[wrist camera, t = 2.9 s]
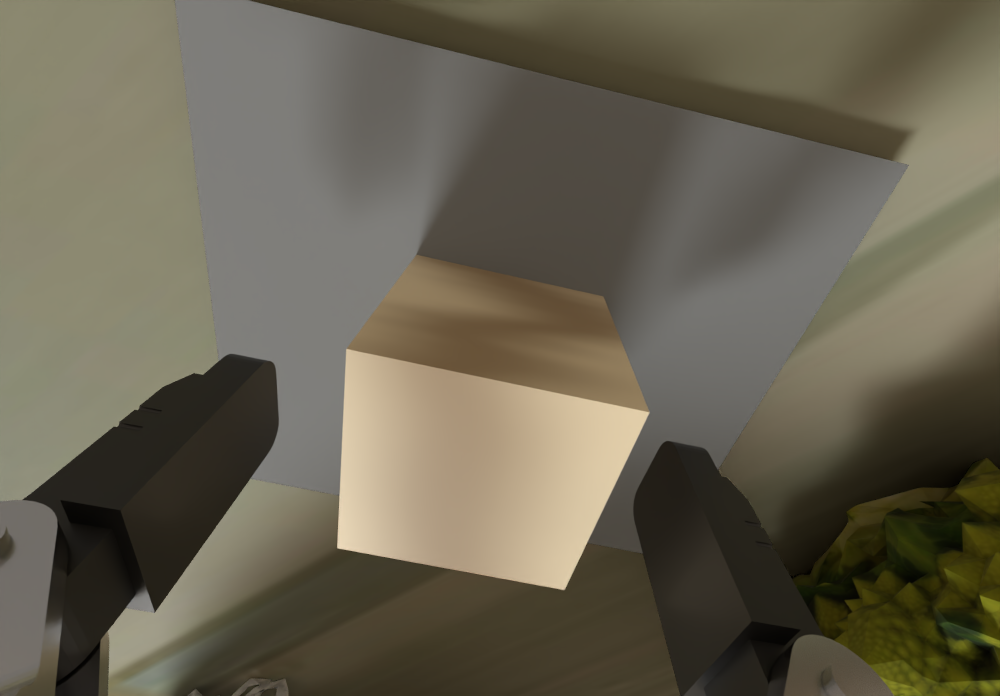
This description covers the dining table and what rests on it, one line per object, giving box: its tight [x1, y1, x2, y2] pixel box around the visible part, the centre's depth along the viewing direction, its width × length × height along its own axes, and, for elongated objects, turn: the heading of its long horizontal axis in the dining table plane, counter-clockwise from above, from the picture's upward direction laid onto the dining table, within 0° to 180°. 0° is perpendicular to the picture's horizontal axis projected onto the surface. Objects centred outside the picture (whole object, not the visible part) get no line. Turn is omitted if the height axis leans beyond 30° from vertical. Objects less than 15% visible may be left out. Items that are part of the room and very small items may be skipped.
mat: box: [175, 0, 909, 553], centre depth 13 cm, size 16×14×1 cm
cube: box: [337, 255, 650, 590], centre depth 10 cm, size 5×5×5 cm
